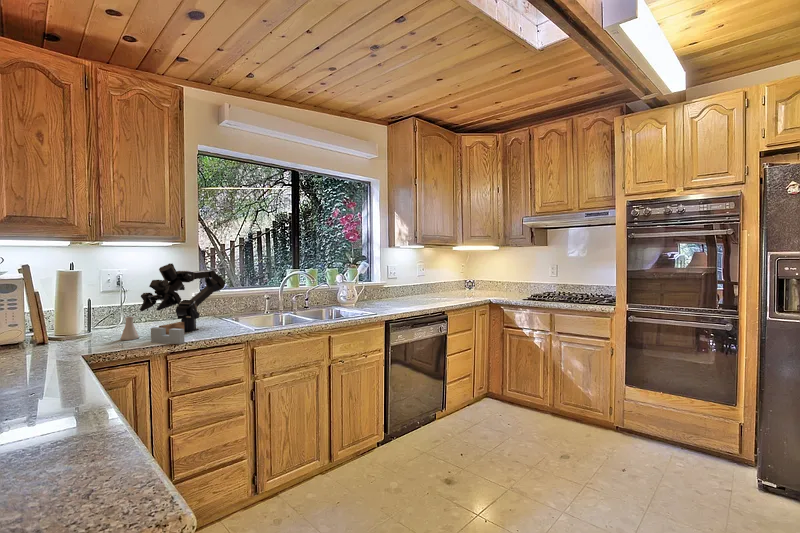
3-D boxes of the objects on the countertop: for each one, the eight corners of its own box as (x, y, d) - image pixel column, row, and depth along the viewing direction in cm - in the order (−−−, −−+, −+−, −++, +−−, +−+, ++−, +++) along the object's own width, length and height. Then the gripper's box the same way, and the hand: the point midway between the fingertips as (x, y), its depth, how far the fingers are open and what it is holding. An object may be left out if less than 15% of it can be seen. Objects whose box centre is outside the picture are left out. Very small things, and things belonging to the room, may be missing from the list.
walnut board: (180, 334, 199) (180, 321, 199) (184, 334, 198) (184, 322, 198) (159, 339, 188) (158, 326, 188) (163, 339, 187) (163, 326, 187)
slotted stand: (155, 340, 185) (155, 327, 185) (184, 342, 180) (184, 329, 180) (151, 341, 182) (150, 328, 182) (179, 344, 178) (179, 330, 177)
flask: (116, 339, 188) (116, 317, 187) (133, 336, 194) (132, 315, 194) (126, 341, 184) (125, 318, 184) (142, 338, 191) (142, 316, 190)
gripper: (146, 276, 194) (122, 297, 182) (178, 273, 189) (156, 294, 177) (158, 294, 200) (136, 316, 188) (190, 292, 195) (169, 314, 183)
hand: (148, 310), depth 184 cm, fingers open, 9 cm apart
